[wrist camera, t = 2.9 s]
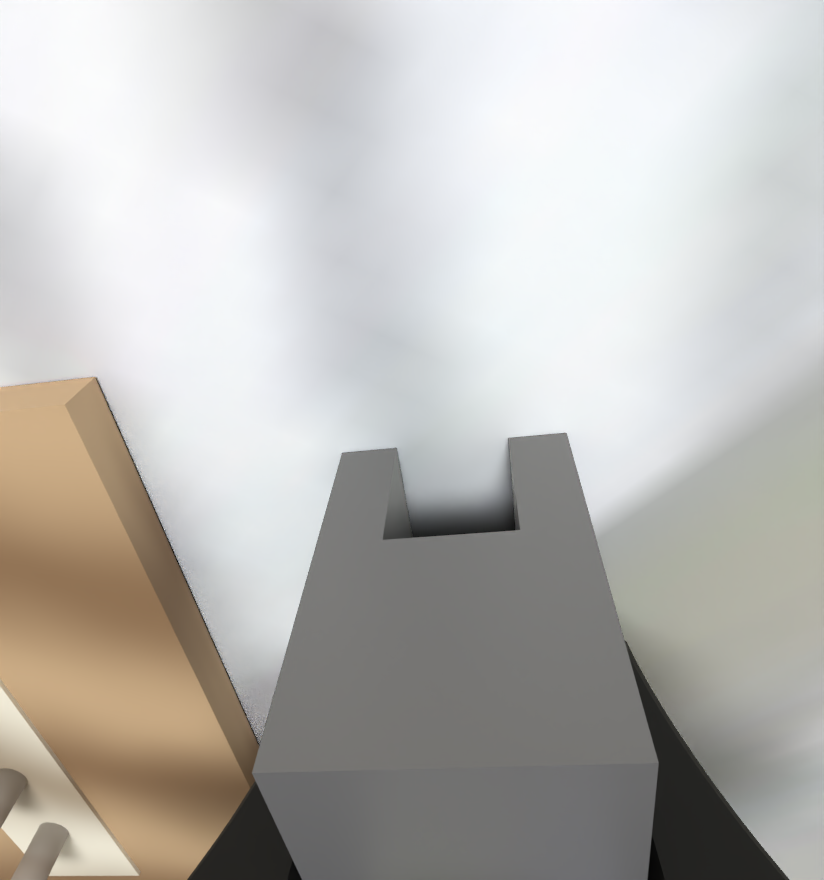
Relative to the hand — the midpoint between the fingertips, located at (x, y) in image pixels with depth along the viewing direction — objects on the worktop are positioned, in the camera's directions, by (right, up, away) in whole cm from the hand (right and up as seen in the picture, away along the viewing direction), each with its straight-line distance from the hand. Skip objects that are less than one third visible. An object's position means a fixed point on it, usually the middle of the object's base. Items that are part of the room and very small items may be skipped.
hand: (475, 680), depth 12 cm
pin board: (-11, -3, +5) cm, 13 cm away
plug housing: (0, +1, +2) cm, 2 cm away
